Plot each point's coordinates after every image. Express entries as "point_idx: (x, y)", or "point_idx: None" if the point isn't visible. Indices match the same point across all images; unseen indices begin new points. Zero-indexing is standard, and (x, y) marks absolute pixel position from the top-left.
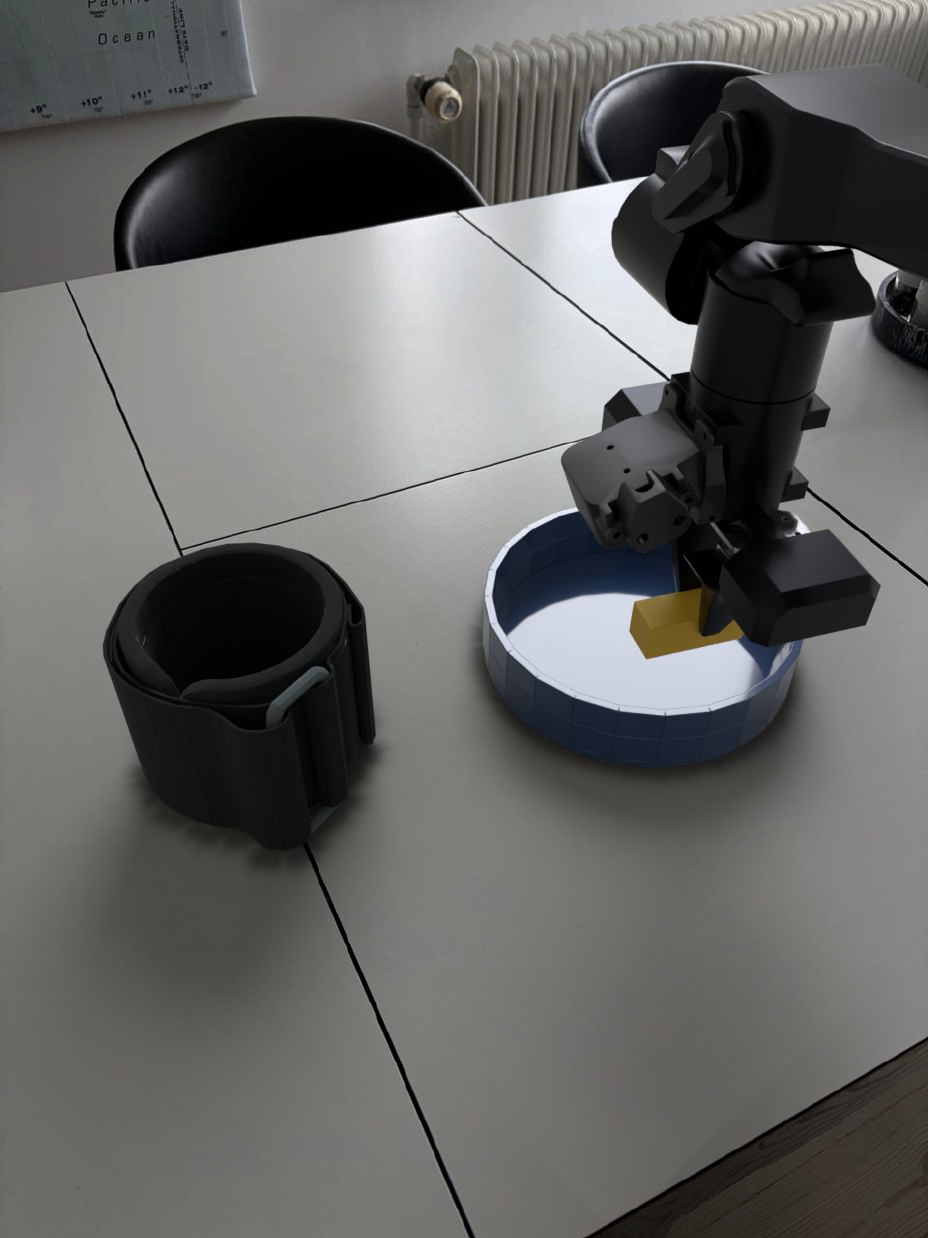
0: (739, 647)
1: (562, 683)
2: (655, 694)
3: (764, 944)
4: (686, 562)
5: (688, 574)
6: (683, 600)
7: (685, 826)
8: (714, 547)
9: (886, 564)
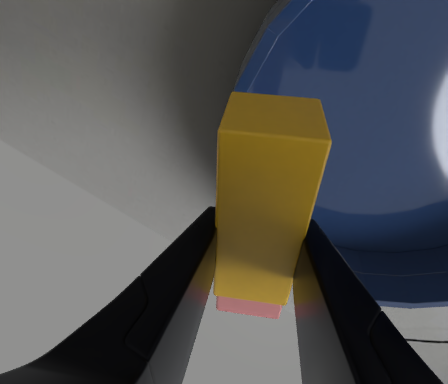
0: (339, 215)
1: (421, 3)
2: (331, 113)
3: (34, 56)
4: (317, 311)
5: (309, 283)
6: (277, 230)
7: (165, 53)
8: (309, 375)
9: None
